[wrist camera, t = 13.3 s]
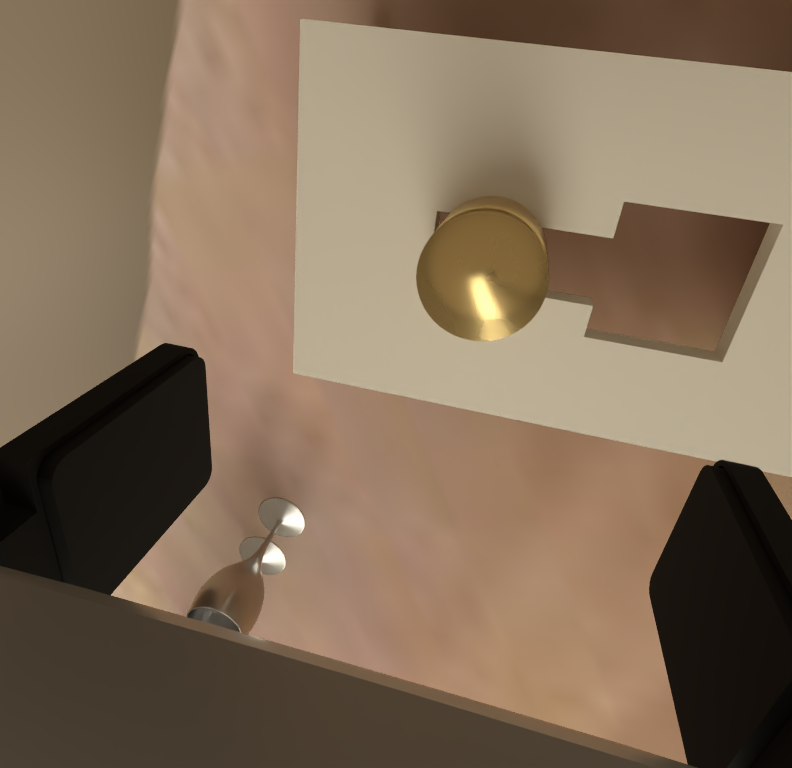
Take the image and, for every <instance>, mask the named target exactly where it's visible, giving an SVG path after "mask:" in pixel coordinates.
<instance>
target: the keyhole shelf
mask: <svg viewBox="0 0 792 768" xmlns="http://www.w3.org/2000/svg"><path fill="white" fill-rule="evenodd" d="M483 196H500V197H504V198H508V199H511V200H514V201H516V202H518V203H520V204H521V205H523V206H524V207H525V208H527V209H528V210H529V211H530V212H531V213H532V214H533V215H534V216H535V217H536V219H537V220H538V222H539V223H540V225H541V227H543V228H549V229H555V230H562V231H568V232H575V233H581V234H587V235H594V236H600V237H607V238H613V237H614V234H615V231H616V227H617V224H618V221H619V217H620V214H621V210H622V207H623V204H624V202H631V203H638V204H645V205H652V206H658V207H665V208H672V209H679V210H686V211H693V212H699V213H706V214H713V215H720V216H727V217H734V218H740V219H747V220H754V221H761V222H768V223H770V224H769V227H768V229H767V231H766V234H765V236H764V238H763V240H762V243H761V245H760V247H759V250H758V252H757V254H756V257H755V259H754V261H753V264H752V266H751V268H750V271H749V273H748V275H747V278H746V280H745V282H744V285H743V287H742V289H741V292H740V294H739V296H738V299H737V301H736V303H735V306H734V308H733V310H732V313H731V315H730V317H729V320H728V322H727V324H726V327H725V329H724V331H723V334H722V336H721V338H720V341H719V343H718V345H717V348H716V350H715V352H714V351H709V350H703V349H698V348H692V347H687V346H681V345H676V344H670V343H665V342H659V341H654V340H648V339H642V338H637V337H631V336H626V335H620V334H615V333H609V332H604V331H598V330H593V329H587V325H588V321H589V318H590V315H591V311H592V308H593V304H592V301H591V298H590V297H584V296H578V295H572V294H566V293H561V292H555V291H549V290H547V294H546V297H545V300H544V302H543V304H542V306H541V308H540V310H539V311H538V313H537V314H536V315H535V317H534V318H533V319H532V320H531V321H530V322H529V323H528V324H527V325H526V326H525V327H523V328H522V329H520V330H519V331H518V332H516V333H514V334H512V335H510V336H507V337H505V338H502V339H498V340H493V341H472V340H467V339H463V338H460V337H457V336H454V335H452V334H451V333H449V332H447V331H445V330H444V329H443V328H441V327H440V326H439V325H438V324H436V323H435V322H434V321H433V319H432V318H431V317H430V316H429V315H428V313H427V312H426V310H425V309H424V307H423V305H422V303H421V300H420V297H419V294H418V290H417V283H416V272H417V265H418V260H419V258H420V255H421V252H422V250H423V248H424V246H425V244H426V243H427V241H428V240H429V239H430V237H431V236H432V235H433V233H434V232H435V231H436V229H437V228H438V225H439V218H440V212H447V213H450V212H452V211H453V210H454V209H455V208H456V207H458V206H459V205H461V204H462V203H465V202H467V201H469V200H471V199H474V198H478V197H483ZM293 373H295V374H299V375H304V376H309V377H314V378H319V379H323V380H328V381H333V382H338V383H342V384H347V385H352V386H357V387H362V388H366V389H371V390H376V391H381V392H386V393H390V394H395V395H400V396H405V397H410V398H414V399H419V400H424V401H429V402H434V403H438V404H443V405H448V406H453V407H458V408H462V409H467V410H472V411H477V412H482V413H486V414H491V415H496V416H501V417H506V418H510V419H515V420H520V421H525V422H530V423H534V424H539V425H544V426H549V427H553V428H558V429H563V430H568V431H573V432H577V433H582V434H587V435H592V436H597V437H601V438H606V439H611V440H616V441H621V442H625V443H630V444H635V445H640V446H645V447H649V448H654V449H659V450H664V451H669V452H673V453H678V454H683V455H688V456H693V457H697V458H702V459H707V460H712V461H719V460H726V461H731V462H735V463H740V464H745V465H750V466H755V467H758V468H759V469H760V470H761V471H764V472H769V473H774V474H779V475H784V476H788V477H792V72H787V71H778V70H769V69H759V68H750V67H741V66H732V65H723V64H713V63H704V62H695V61H686V60H677V59H667V58H658V57H649V56H640V55H630V54H621V53H612V52H603V51H594V50H584V49H575V48H566V47H557V46H548V45H538V44H529V43H520V42H511V41H501V40H492V39H483V38H474V37H465V36H455V35H446V34H437V33H428V32H419V31H409V30H400V29H391V28H382V27H372V26H363V25H354V24H345V23H336V22H326V21H317V20H308V19H300V58H299V107H298V157H297V206H296V256H295V306H294V355H293Z"/></svg>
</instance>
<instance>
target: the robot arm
mask: <svg viewBox="0 0 792 768" xmlns="http://www.w3.org/2000/svg"><path fill="white" fill-rule="evenodd" d="M211 471H212V461H211V446H210V430H209V415H208V399H207V384H206V369H205V362H204V360H203V359H202V358H200V357H198V354H197V352H196V351H195V350H194V349H192V348H187V347H183V346H178V345H173V344H168V343H164V344H162V345H160V346H158V347H157V348H155V349H154V350H152V351H150V352H149V353H147V354H146V355H144V356H143V357H141V358H139V359H138V360H136V361H135V362H133V363H132V364H130V365H129V366H127V367H125V368H124V369H123V370H121V371H119V372H118V373H116V374H115V375H113V376H111V377H110V378H108V379H107V380H105V381H104V382H102V383H100V384H99V385H97V386H96V387H94V388H93V389H91V390H90V391H88V392H87V393H85V394H83V395H82V396H80V397H79V398H77V399H76V400H74V401H72V402H71V403H69V404H68V405H66V406H65V407H63V408H62V409H60V410H59V411H57V412H55V413H54V414H52V415H50V416H49V417H48V418H46V419H44V420H43V421H41V422H40V423H38V424H37V425H35V426H33V427H32V428H30V429H29V430H27V431H26V432H24V433H22V434H21V435H20V436H18V437H16V438H15V439H13V440H12V441H10V442H8V443H7V444H5V445H4V446H2V447H1V448H0V768H792V520H791V518H790V516H789V515H788V513H787V512H786V510H785V508H784V507H783V505H782V503H781V502H780V500H779V498H778V497H777V495H776V493H775V492H774V490H773V489H772V487H771V485H770V484H769V482H768V480H767V479H766V477H765V475H764V474H763V472H762V471H761V470H760V469H759V468H758V467H755V466H750V465H745V464H740V463H735V462H731V461H726V460H719V461H717V462H716V463H715V464H714V466H709V465H706V466H704V467H703V468H702V470H701V471H700V473H699V475H698V477H697V480H696V482H695V484H694V486H693V488H692V490H691V492H690V495H689V497H688V499H687V501H686V503H685V505H684V507H683V509H682V512H681V514H680V516H679V518H678V520H677V522H676V524H675V526H674V529H673V531H672V533H671V535H670V537H669V539H668V541H667V544H666V546H665V548H664V550H663V552H662V554H661V556H660V558H659V561H658V563H657V565H656V567H655V569H654V571H653V573H652V576H651V580H650V586H649V594H650V599H651V604H652V608H653V613H654V617H655V621H656V626H657V630H658V635H659V639H660V644H661V648H662V652H663V657H664V661H665V666H666V670H667V674H668V679H669V683H670V688H671V692H672V697H673V701H674V705H675V710H676V714H677V719H678V723H679V727H680V732H681V736H682V741H683V745H684V749H685V754H686V758H687V763H688V765H687V764H684V763H681V762H678V761H674V760H671V759H668V758H665V757H662V756H658V755H655V754H652V753H649V752H646V751H642V750H639V749H636V748H633V747H630V746H626V745H623V744H620V743H616V742H613V741H610V740H606V739H603V738H600V737H596V736H593V735H589V734H586V733H583V732H579V731H576V730H572V729H569V728H566V727H562V726H559V725H556V724H552V723H549V722H545V721H542V720H539V719H535V718H532V717H529V716H525V715H522V714H518V713H515V712H512V711H508V710H505V709H502V708H498V707H495V706H491V705H488V704H485V703H481V702H478V701H475V700H471V699H468V698H464V697H461V696H458V695H454V694H451V693H447V692H444V691H441V690H437V689H434V688H430V687H427V686H424V685H420V684H417V683H413V682H410V681H406V680H403V679H400V678H396V677H393V676H389V675H386V674H382V673H379V672H375V671H372V670H369V669H365V668H362V667H358V666H355V665H351V664H348V663H345V662H341V661H338V660H334V659H331V658H327V657H324V656H320V655H317V654H313V653H310V652H307V651H303V650H300V649H296V648H293V647H289V646H286V645H282V644H279V643H275V642H272V641H268V640H265V639H262V638H258V637H255V636H251V635H248V634H244V633H241V632H237V631H234V630H230V629H227V628H223V627H220V626H216V625H213V624H209V623H206V622H202V621H199V620H195V619H192V618H188V617H185V616H181V615H177V614H174V613H170V612H167V611H163V610H160V609H156V608H153V607H149V606H146V605H142V604H139V603H135V602H132V601H128V600H125V599H121V598H118V597H114V596H111V594H112V593H113V591H114V590H115V589H116V588H117V587H118V586H119V585H120V583H121V582H122V581H123V580H124V579H125V578H126V577H127V575H128V574H129V573H130V572H131V571H132V570H133V568H134V567H135V566H136V565H137V564H138V563H139V562H140V560H141V559H142V558H143V557H144V556H145V555H146V554H147V552H148V551H149V550H150V549H151V548H152V547H153V545H154V544H155V543H156V542H157V541H158V540H159V539H160V537H161V536H162V535H163V534H164V533H165V532H166V531H167V529H168V528H169V527H170V526H171V525H172V524H173V522H174V521H175V520H176V519H177V518H178V517H179V516H180V514H181V513H182V512H183V511H184V510H185V509H186V508H187V506H188V505H189V504H190V503H191V502H192V501H193V499H194V498H195V497H196V496H197V495H198V494H199V493H200V491H201V490H202V489H203V488H204V487H205V486H206V484H207V483H208V481H209V479H210V476H211Z"/></svg>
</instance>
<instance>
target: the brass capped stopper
mask: <svg viewBox="0 0 792 768" xmlns="http://www.w3.org/2000/svg"><path fill="white" fill-rule="evenodd" d="M416 283H417V290H418V294H419V297H420V300H421V303H422V305H423V307H424V309H425V310H426V312H427V313H428V315H429V316H430V317H431V318H432V319H433V321H434V322H435V323H436V324H438V325H439V326H440V327H441V328H443V329H444V330H445V331H447V332H449V333H451V334H452V335H454V336H457V337H460V338H463V339H467V340H472V341H493V340H498V339H502V338H505V337H507V336H510V335H512V334H514V333H516V332H518V331H519V330H520V329H522V328H523V327H525V326H526V325H527V324H528V323H529V322H530V321H531V320H532V319H533V318H534V317H535V315H536V314H537V313H538V311H539V310H540V308H541V306H542V304H543V302H544V300H545V297H546V294H547V289H548V284H549V269H548V256H547V244H546V239H545V234H544V232H543V229H542V227H541V225H540V223H539V222H538V220H537V219H536V217H535V216H534V215H533V214H532V213H531V212H530V211H529V210H528V209H527V208H525V207H524V206H523V205H521V204H520V203H518V202H516V201H514V200H511V199H508V198H504V197H500V196H483V197H478V198H474V199H471V200H469V201H467V202H465V203H462V204H461V205H459V206H458V207H456V208H455V209H454V210H453V211H452V212H450V213H449V215H448V216H447V217H446V218H445V219H444V220H443V222H442V223H441V224H440V226H439V227H438V228H437V229H436V231H435V232H434V233H433V235H432V236H431V237H430V239H429V240H428V241H427V243H426V244H425V246H424V248H423V250H422V252H421V255H420V258H419V260H418V265H417V272H416Z"/></svg>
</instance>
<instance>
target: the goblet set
mask: <svg viewBox="0 0 792 768" xmlns="http://www.w3.org/2000/svg"><path fill="white" fill-rule="evenodd" d="M259 517H260V520H261V522H262V523H263V525H264V526H265V527H266V528H267V529H268V530H270V531H271V532H270V533H269V535H268V536H267V538H266V539H265V538H261V537H250V538H247V539H245V540H244V541H243V542H242V543H241V545H240V555H241V558H242V559H243V561H241V562H238V563H235V564H232V565H229V566H227V567H225V568H223V569H221V570H219V571H218V572H217V573H215V574H214V575H213V576H212V577H211V578H210V579H209V580H208V581H207V582H206V583H205V584H204V585H203V587H202V588H201V589H200V591H199V592H198V594H197V595H196V597H195V599H194V601H193V603H192V605H191V607H190V609H189V611H188V614H187V617H188V618H192V619H195V620H199V621H202V622H206V623H209V624H213V625H216V626H220V627H223V628H227V629H230V630H234V631H237V632H241V633H244V634H248V633H249V632H250V631H251V629H252V628H253V626H254V624H255V623H256V621H257V619H258V616H259V614H260V611H261V608H262V605H263V600H264V583H263V578H262V574H266V575H274V574H277V573H280V572H281V571H282V570H283V569H284V567H285V565H286V559H285V556H284V553H283V552H282V550H281V549H280V548H279V547H278V546H277V545H276V544H274V543H273V542H271V539H272V538H273V536H274V534H276V535H279V536H283V537H293V536H297V535H299V534H300V533H301V532H302V531H303V529H304V527H305V518H304V516H303V514H302V512H301V511H300V509H299V508H298V507H297V506H296V505H294V504H293V503H291V502H290V501H288V500H285V499H282V498H270V499H267V500H265V501H264V502H262V504H261V505H260V507H259Z"/></svg>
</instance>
